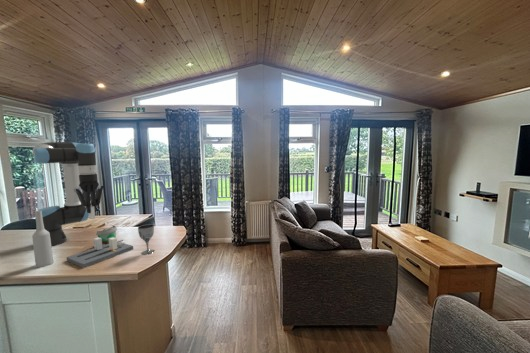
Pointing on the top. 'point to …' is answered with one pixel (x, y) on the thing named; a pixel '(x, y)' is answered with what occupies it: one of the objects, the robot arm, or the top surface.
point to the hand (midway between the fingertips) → (92, 218)
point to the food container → (107, 234)
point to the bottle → (42, 243)
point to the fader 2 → (112, 243)
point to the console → (98, 254)
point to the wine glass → (146, 236)
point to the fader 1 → (98, 243)
